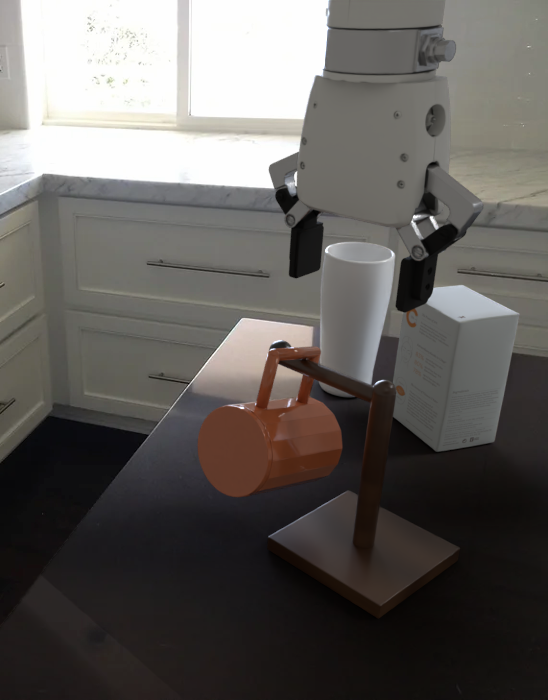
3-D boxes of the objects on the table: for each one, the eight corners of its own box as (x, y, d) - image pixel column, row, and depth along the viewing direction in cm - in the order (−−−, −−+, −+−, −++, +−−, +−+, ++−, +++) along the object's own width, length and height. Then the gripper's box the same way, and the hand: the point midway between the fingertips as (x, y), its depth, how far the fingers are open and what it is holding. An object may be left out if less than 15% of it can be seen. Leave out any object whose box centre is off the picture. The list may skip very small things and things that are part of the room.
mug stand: (298, 476, 76) (313, 320, 70) (458, 560, 65) (493, 384, 59) (218, 519, 70) (227, 353, 64) (378, 619, 60) (407, 432, 53)
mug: (189, 473, 66) (263, 459, 72) (255, 513, 62) (329, 495, 67) (220, 335, 64) (295, 332, 69) (292, 365, 59) (367, 359, 64)
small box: (495, 443, 80) (523, 313, 75) (435, 453, 79) (458, 321, 73) (441, 404, 87) (463, 282, 82) (385, 412, 86) (403, 289, 81)
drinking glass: (310, 399, 89) (324, 260, 83) (310, 371, 95) (323, 239, 89) (379, 405, 87) (399, 264, 81) (375, 376, 93) (393, 243, 87)
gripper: (532, 57, 55) (489, 308, 62) (312, 43, 67) (297, 253, 74) (468, 69, 51) (429, 336, 58) (246, 52, 63) (237, 273, 70)
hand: (355, 289), depth 66 cm, fingers open, 9 cm apart
